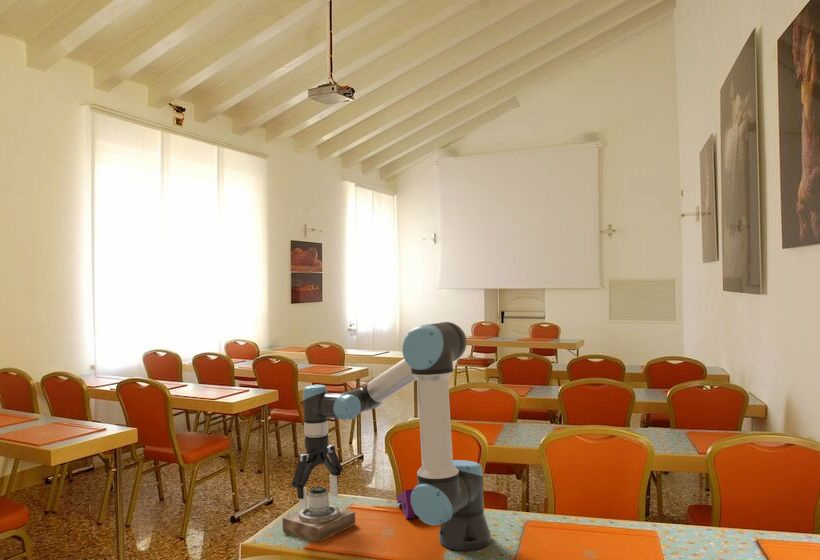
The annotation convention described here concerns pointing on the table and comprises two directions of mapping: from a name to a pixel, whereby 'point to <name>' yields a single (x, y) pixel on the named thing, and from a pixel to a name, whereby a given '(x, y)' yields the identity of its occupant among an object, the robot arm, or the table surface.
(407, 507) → the mounting bracket
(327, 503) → the camera lens
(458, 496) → the robot arm
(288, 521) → the mount block
